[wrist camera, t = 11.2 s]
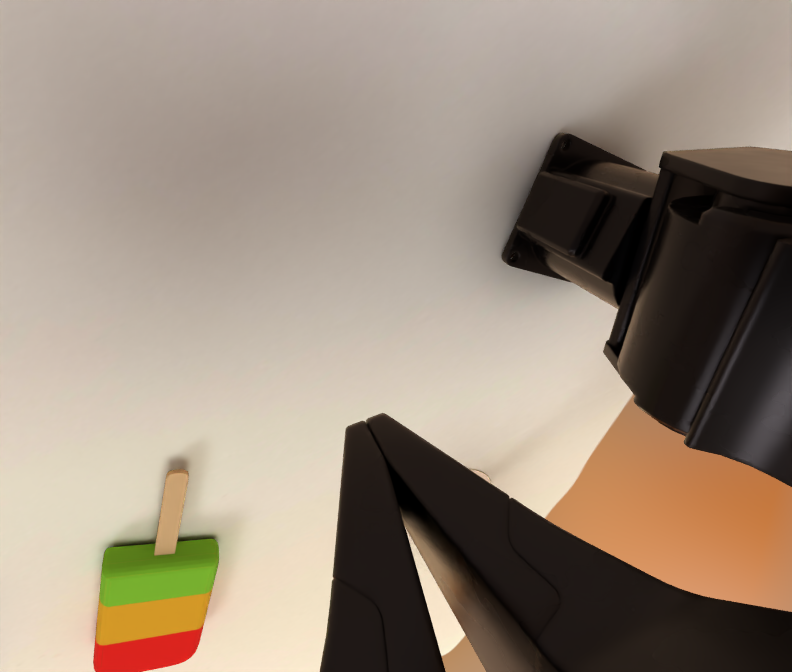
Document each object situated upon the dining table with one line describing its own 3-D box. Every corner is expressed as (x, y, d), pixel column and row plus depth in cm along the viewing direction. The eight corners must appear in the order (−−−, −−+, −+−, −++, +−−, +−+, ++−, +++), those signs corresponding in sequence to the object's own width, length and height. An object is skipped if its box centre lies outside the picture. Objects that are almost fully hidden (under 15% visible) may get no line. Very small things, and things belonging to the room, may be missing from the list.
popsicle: (95, 650, 27) (89, 685, 25) (114, 458, 21) (107, 489, 20) (196, 633, 29) (196, 664, 28) (237, 457, 24) (240, 484, 22)
